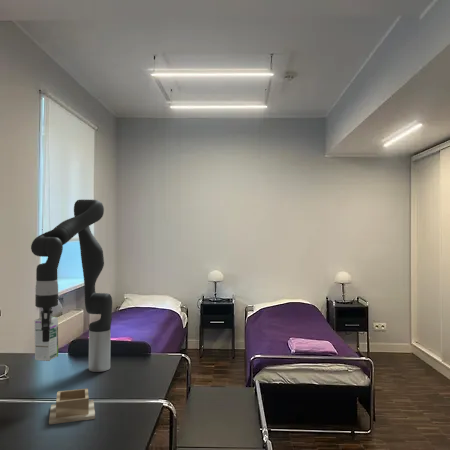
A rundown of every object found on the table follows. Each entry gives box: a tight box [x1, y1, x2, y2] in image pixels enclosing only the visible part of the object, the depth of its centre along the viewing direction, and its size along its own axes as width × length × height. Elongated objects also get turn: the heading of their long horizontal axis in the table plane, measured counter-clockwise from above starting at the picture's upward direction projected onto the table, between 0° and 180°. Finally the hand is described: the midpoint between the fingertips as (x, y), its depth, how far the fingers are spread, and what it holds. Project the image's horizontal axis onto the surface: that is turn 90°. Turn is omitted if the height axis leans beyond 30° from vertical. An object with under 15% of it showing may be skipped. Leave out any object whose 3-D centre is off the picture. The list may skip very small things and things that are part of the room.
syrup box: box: [34, 316, 59, 362], centre depth 159 cm, size 6×6×14 cm
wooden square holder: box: [48, 387, 96, 425], centre depth 149 cm, size 14×14×6 cm
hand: (46, 338), depth 159 cm, fingers closed on syrup box, 7 cm apart
